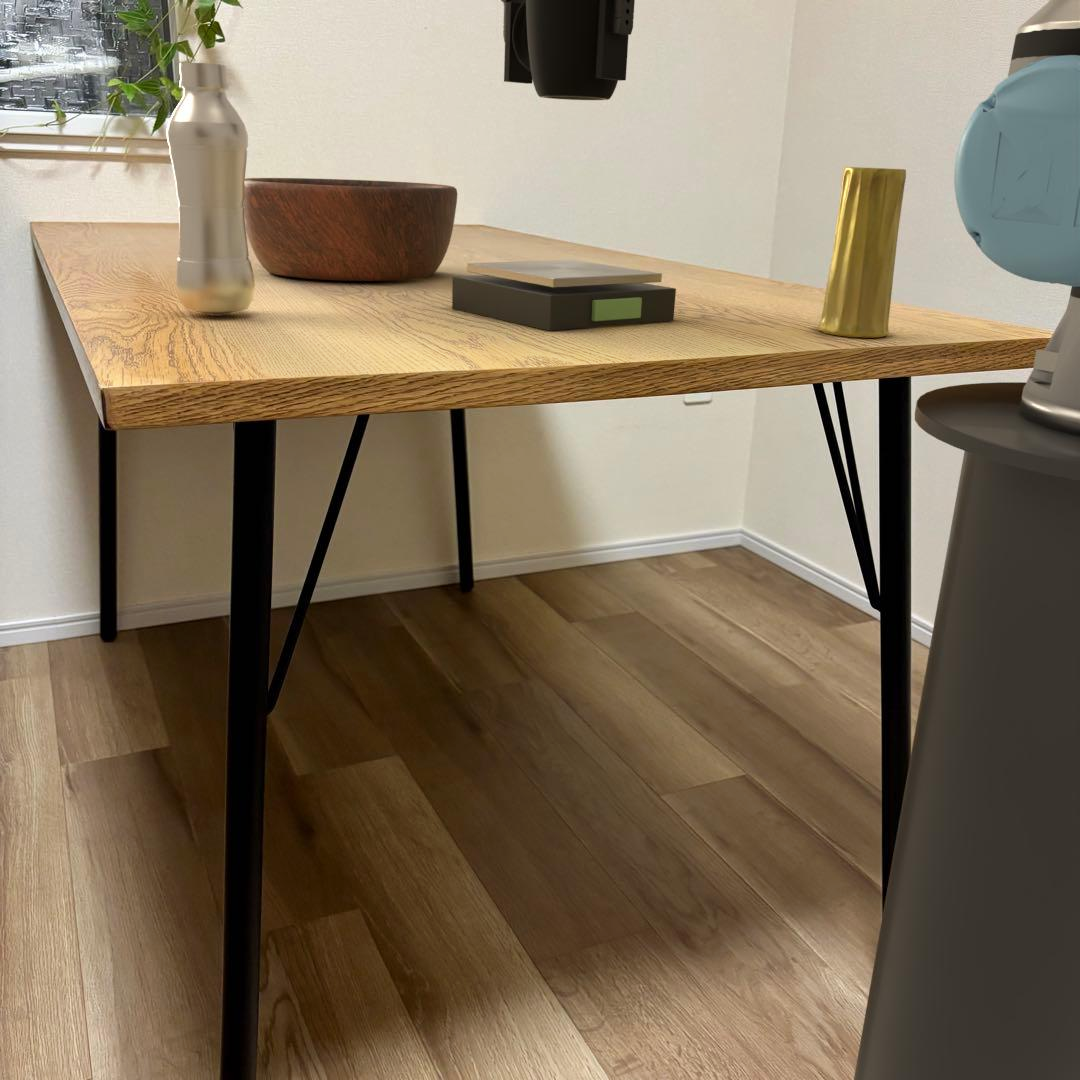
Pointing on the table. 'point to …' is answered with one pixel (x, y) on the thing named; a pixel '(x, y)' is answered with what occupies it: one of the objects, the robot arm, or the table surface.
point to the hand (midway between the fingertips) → (562, 81)
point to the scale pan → (564, 273)
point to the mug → (561, 48)
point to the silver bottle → (210, 194)
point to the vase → (864, 253)
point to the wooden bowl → (348, 227)
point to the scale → (563, 303)
